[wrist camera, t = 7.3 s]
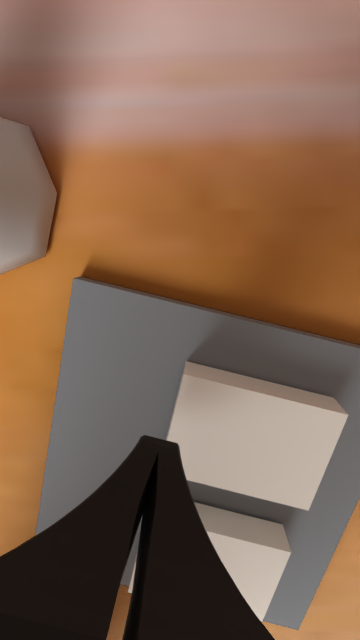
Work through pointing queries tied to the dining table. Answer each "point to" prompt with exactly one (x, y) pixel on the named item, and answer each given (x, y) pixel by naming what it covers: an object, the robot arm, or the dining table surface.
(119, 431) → the slate mat
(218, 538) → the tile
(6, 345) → the dining table surface
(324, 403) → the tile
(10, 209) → the flask
